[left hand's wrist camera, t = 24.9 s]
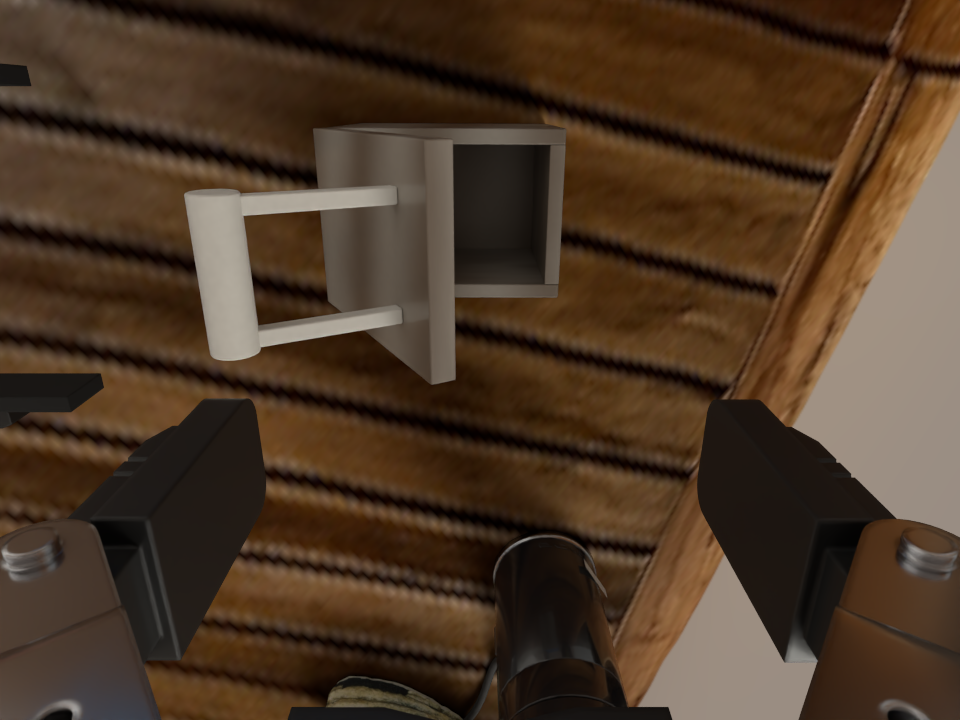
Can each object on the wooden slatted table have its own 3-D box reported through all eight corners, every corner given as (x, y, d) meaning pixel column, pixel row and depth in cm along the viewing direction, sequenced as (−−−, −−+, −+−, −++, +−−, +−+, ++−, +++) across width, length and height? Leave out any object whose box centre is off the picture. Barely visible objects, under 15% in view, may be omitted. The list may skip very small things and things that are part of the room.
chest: (546, 123, 44) (566, 128, 34) (541, 257, 48) (557, 297, 38) (361, 123, 44) (326, 127, 34) (369, 256, 48) (339, 297, 38)
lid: (453, 138, 23) (186, 143, 19) (456, 380, 26) (231, 430, 22) (333, 127, 34) (149, 129, 30) (347, 298, 37) (183, 321, 33)
